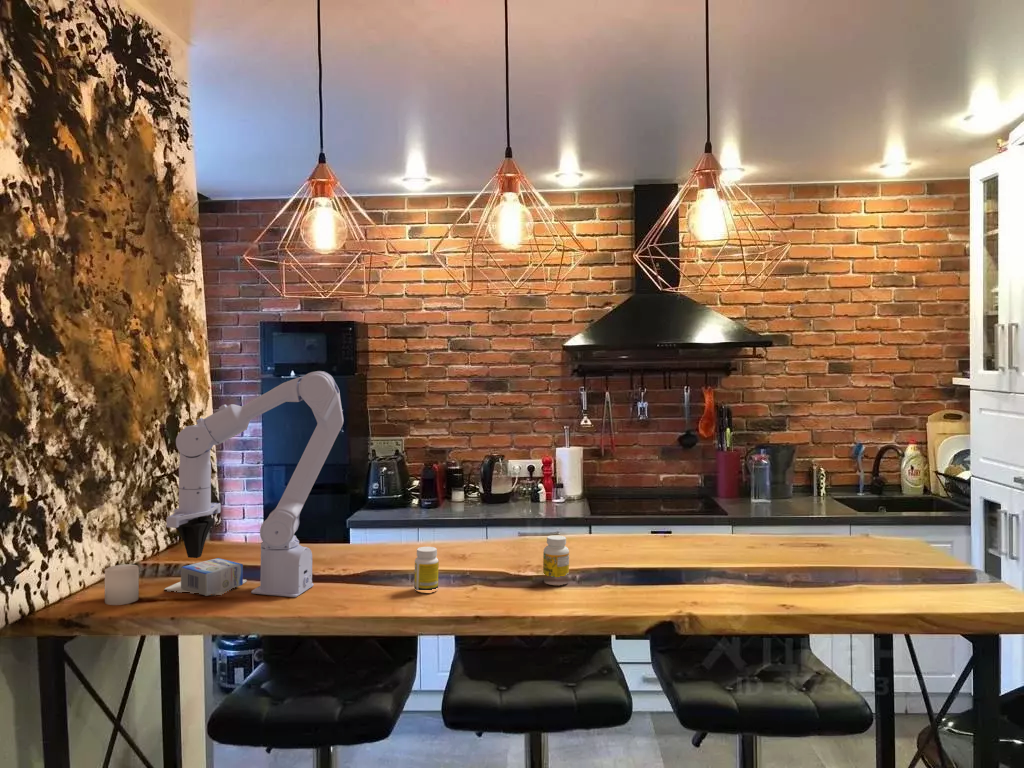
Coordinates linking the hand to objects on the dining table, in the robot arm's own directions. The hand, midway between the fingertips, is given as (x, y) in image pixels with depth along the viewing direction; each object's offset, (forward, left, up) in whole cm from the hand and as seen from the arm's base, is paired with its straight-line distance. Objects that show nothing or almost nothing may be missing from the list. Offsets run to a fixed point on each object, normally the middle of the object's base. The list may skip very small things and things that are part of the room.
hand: (194, 556), depth 146 cm
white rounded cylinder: (+10, +8, -7) cm, 14 cm away
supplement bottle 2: (-67, -24, -7) cm, 72 cm away
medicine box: (-1, +2, -4) cm, 5 cm away
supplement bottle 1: (-43, -12, -7) cm, 45 cm away
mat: (0, -4, -7) cm, 8 cm away
